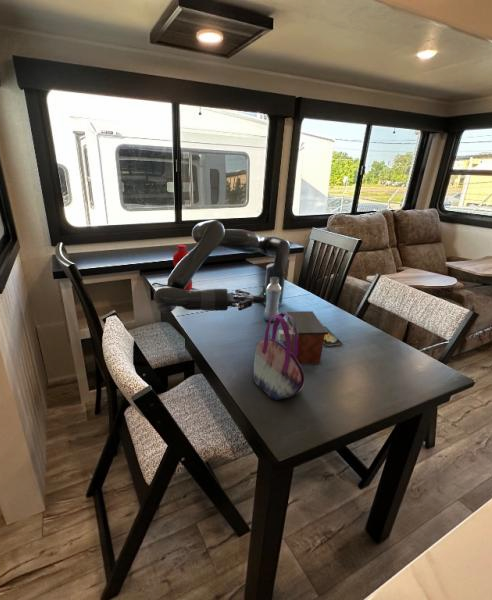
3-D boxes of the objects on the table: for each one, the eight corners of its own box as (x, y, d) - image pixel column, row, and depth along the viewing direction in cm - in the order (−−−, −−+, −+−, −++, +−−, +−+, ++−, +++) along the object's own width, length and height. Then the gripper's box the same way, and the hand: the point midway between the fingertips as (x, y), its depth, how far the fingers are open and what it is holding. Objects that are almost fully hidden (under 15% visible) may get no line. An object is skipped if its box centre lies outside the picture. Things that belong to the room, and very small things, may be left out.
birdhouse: (294, 364, 109) (298, 332, 104) (282, 340, 125) (286, 311, 119) (322, 364, 110) (328, 332, 105) (308, 339, 125) (312, 311, 120)
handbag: (243, 372, 105) (247, 304, 95) (267, 363, 109) (273, 298, 99) (285, 412, 88) (296, 336, 78) (311, 400, 93) (324, 326, 83)
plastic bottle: (266, 315, 145) (270, 274, 137) (280, 318, 142) (284, 277, 134) (261, 320, 140) (264, 278, 132) (274, 324, 137) (279, 281, 129)
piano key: (279, 341, 113) (280, 334, 112) (277, 337, 116) (278, 329, 115) (294, 340, 113) (295, 333, 112) (292, 336, 116) (293, 329, 115)
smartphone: (324, 325, 135) (342, 343, 122) (324, 327, 135) (342, 344, 122) (309, 326, 134) (326, 344, 120) (309, 328, 134) (325, 346, 121)
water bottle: (192, 293, 167) (191, 248, 157) (172, 292, 169) (170, 246, 159) (196, 287, 175) (195, 244, 165) (177, 286, 177) (176, 242, 167)
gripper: (214, 297, 99) (268, 296, 100) (213, 282, 111) (261, 282, 112) (214, 318, 102) (266, 317, 103) (213, 301, 114) (259, 301, 115)
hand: (263, 299), depth 108 cm, fingers closed
